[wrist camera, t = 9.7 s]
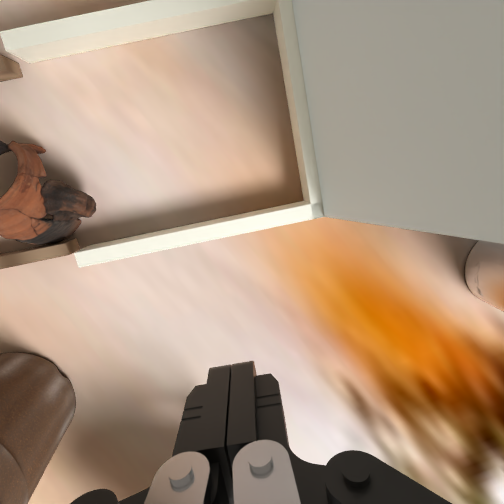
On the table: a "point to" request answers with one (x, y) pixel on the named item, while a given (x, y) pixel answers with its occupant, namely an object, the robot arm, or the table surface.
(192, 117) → the table surface
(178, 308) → the table surface
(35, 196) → the pottery mug
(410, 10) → the cold frame
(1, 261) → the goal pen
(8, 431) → the plant pot
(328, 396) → the table surface
